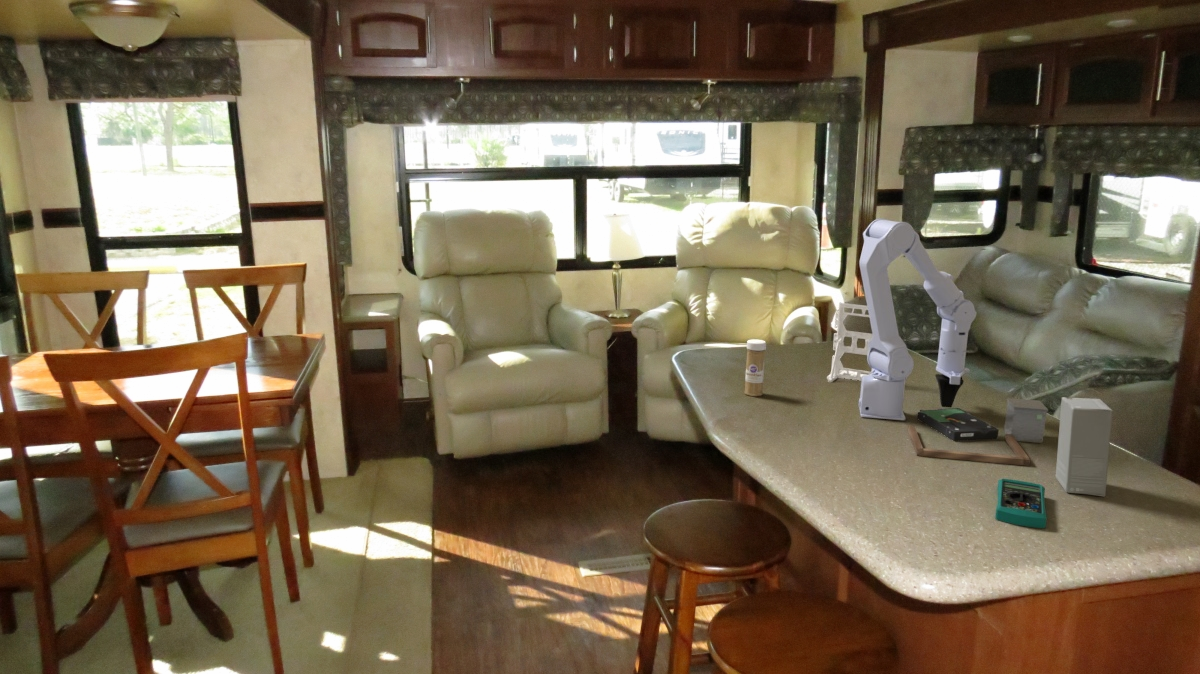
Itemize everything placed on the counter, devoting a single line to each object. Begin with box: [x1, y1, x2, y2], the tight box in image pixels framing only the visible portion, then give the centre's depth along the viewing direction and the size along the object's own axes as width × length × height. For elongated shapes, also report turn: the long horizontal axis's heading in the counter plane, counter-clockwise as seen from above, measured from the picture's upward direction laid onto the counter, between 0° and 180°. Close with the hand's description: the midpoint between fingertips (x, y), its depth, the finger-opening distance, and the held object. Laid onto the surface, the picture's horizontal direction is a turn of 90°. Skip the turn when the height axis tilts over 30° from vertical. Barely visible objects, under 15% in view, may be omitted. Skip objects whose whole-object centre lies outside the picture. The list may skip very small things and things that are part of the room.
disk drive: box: [916, 407, 1000, 442], centre depth 178 cm, size 10×3×15 cm
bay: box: [907, 425, 1031, 467], centre depth 166 cm, size 20×15×1 cm
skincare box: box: [1054, 396, 1114, 497], centre depth 146 cm, size 8×7×16 cm
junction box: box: [1004, 397, 1049, 444], centre depth 172 cm, size 6×6×7 cm
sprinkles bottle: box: [743, 338, 767, 397], centre depth 200 cm, size 5×5×14 cm
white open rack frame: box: [826, 302, 873, 383], centre depth 213 cm, size 14×14×20 cm
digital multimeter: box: [994, 478, 1048, 529], centre depth 138 cm, size 7×15×3 cm, turn 153°
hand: (946, 406), depth 190 cm, fingers closed
